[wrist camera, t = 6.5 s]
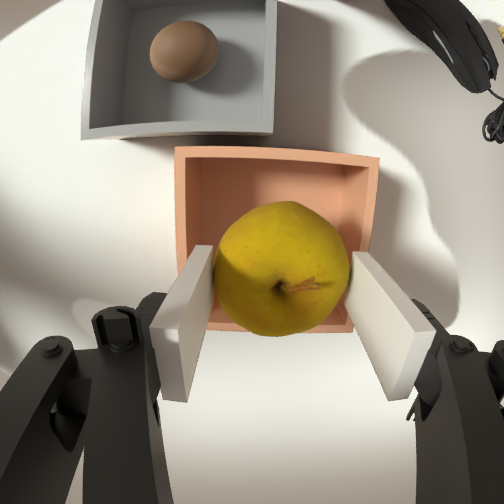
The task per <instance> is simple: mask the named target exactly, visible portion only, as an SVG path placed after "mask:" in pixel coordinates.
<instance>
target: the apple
mask: <svg viewBox="0 0 504 504" xmlns="http://www.w3.org/2000/svg"><path fill="white" fill-rule="evenodd" d="M349 274H350V264H349V260H348V256H347V252H346V249H345V246H344V244H343V241H342V239H341V237H340V235H339V233H338V232H337V231H336V229H335V228H334V227H333V226H332V225H331V224H330V223H329V222H328V221H327V220H325V219H324V218H323V217H321V216H320V215H319V214H317V213H316V212H314V211H313V210H311V209H309V208H307V207H306V206H304V205H302V204H300V203H297V202H295V201H280V202H274V203H269V204H266V205H262V206H259V207H257V208H255V209H252V210H251V211H249V212H248V213H246V214H244V215H243V216H242V217H241V218H240V219H238V220H237V221H236V222H235V223H233V224H232V225H231V226H230V227H229V228H228V230H227V231H226V232H225V234H224V235H223V237H222V239H221V241H220V243H219V246H218V248H217V251H216V254H215V259H214V267H213V281H214V288H215V292H216V295H217V298H218V301H219V303H220V305H221V307H222V309H223V311H224V312H225V313H226V314H227V315H228V317H229V318H230V319H231V320H232V321H234V322H235V323H236V324H238V325H239V326H241V327H243V328H244V329H246V330H248V331H250V332H252V333H254V334H257V335H261V336H271V337H273V336H275V337H278V336H286V335H290V334H295V333H301V332H304V331H307V330H310V329H312V328H314V327H316V326H317V325H319V324H320V323H322V322H323V321H324V320H325V319H326V318H327V317H328V316H329V314H330V313H331V312H332V310H333V309H334V307H335V306H336V304H337V303H338V301H339V299H340V297H341V296H342V294H343V292H344V290H345V288H346V286H347V284H348V280H349Z"/></svg>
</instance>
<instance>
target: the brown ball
mask: <svg viewBox="0 0 504 504" xmlns="http://www.w3.org/2000/svg"><path fill="white" fill-rule="evenodd" d="M218 54H219V46H218V41H217V38H216V36H215V35H214V33H213V32H212V31H211V30H210V29H209V28H208V27H206V26H205V25H203V24H201V23H198V22H195V21H179V22H175V23H172V24H170V25H168V26H166V27H165V28H163V29H162V30H161V31H160V32H159V33H158V34H157V35H156V37H155V38H154V40H153V42H152V44H151V48H150V61H151V64H152V66H153V68H154V70H155V71H156V72H157V73H158V74H159V75H160V76H161V77H162V78H164V79H166V80H168V81H170V82H174V83H189V82H193V81H196V80H198V79H200V78H202V77H204V76H205V75H206V74H208V73H209V72H210V71H211V69H212V68H213V67H214V65H215V63H216V61H217V58H218Z"/></svg>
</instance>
